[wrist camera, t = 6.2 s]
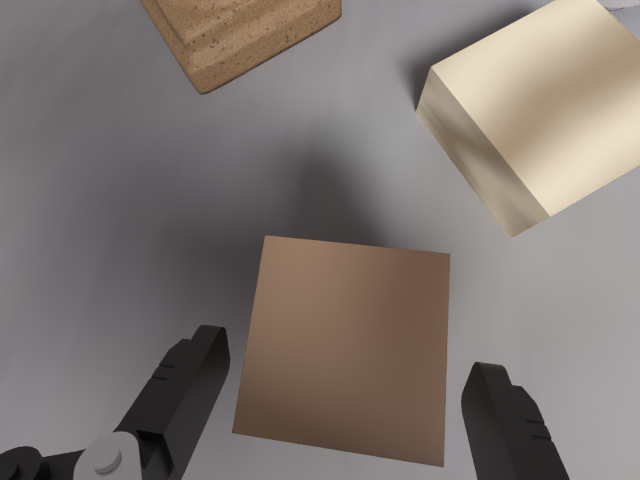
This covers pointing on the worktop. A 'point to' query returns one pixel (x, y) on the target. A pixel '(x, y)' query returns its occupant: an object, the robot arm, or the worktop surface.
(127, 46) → the worktop surface
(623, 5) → the can
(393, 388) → the walnut pillar
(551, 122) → the birch block
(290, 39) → the candle holder
